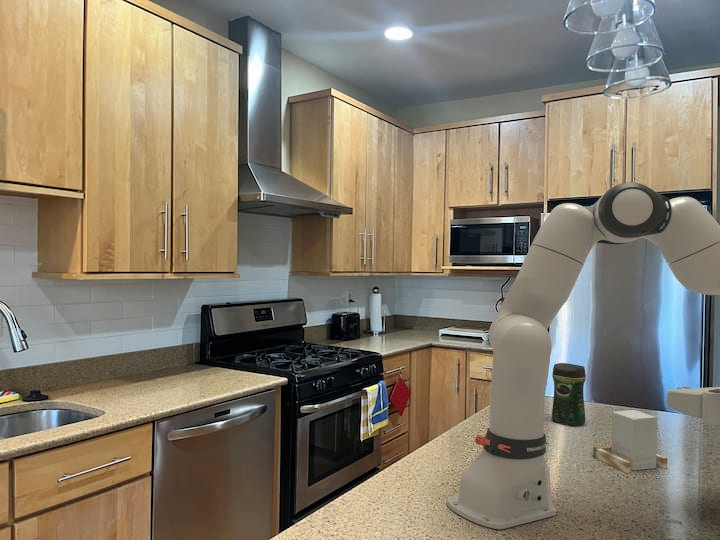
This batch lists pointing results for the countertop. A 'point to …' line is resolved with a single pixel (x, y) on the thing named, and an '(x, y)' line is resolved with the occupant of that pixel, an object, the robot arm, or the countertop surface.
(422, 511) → the countertop surface
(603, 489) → the countertop surface
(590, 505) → the countertop surface
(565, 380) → the coffee jar
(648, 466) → the supplement box
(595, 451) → the corral
